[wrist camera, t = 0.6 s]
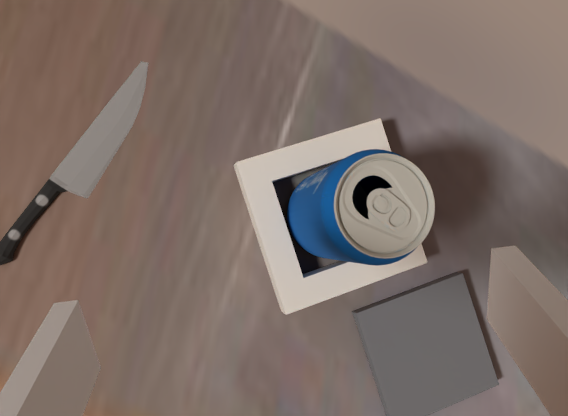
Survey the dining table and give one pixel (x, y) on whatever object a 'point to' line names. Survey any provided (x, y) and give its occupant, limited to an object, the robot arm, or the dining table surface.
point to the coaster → (426, 348)
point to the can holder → (273, 231)
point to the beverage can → (363, 209)
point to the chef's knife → (84, 157)
